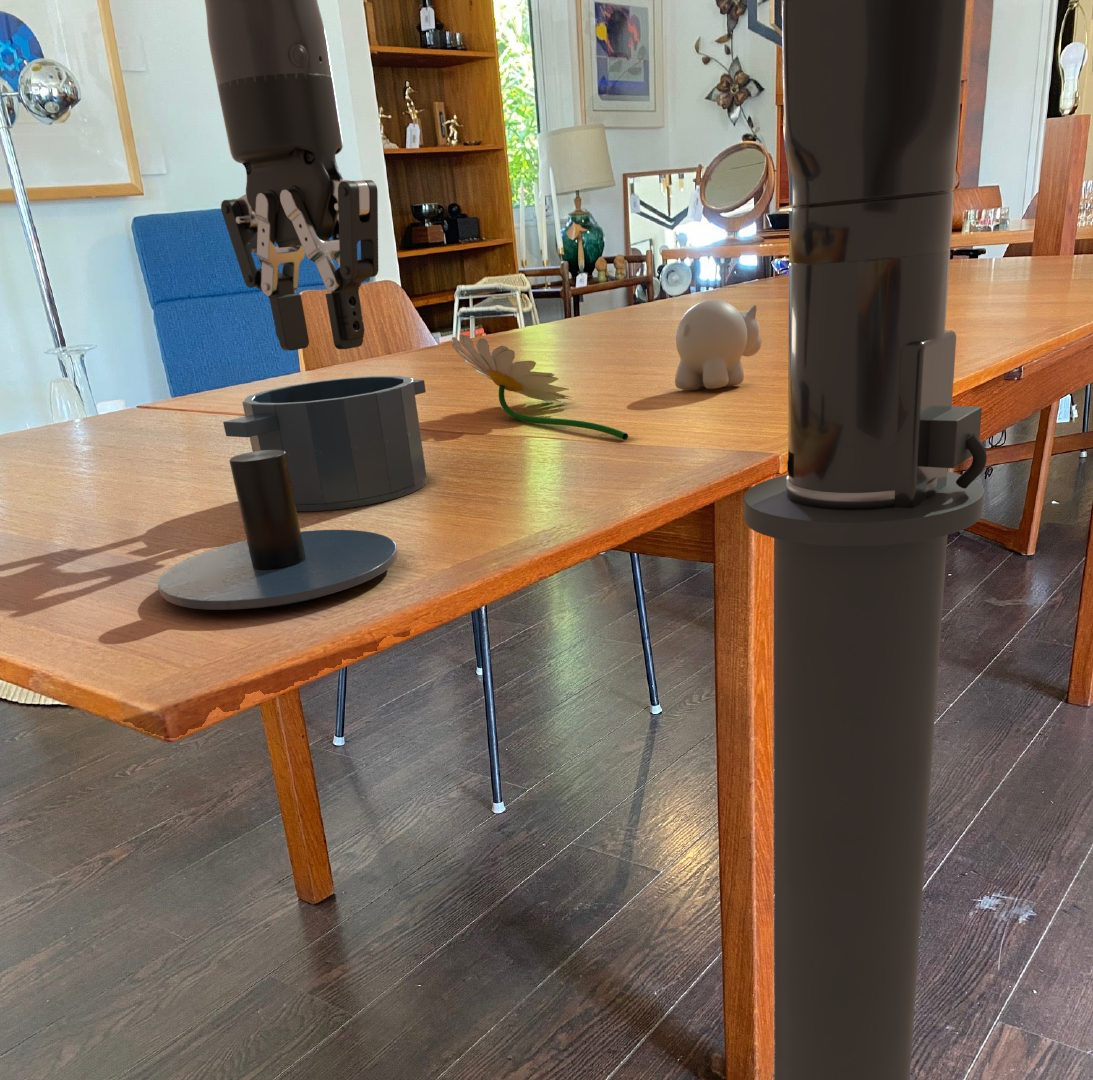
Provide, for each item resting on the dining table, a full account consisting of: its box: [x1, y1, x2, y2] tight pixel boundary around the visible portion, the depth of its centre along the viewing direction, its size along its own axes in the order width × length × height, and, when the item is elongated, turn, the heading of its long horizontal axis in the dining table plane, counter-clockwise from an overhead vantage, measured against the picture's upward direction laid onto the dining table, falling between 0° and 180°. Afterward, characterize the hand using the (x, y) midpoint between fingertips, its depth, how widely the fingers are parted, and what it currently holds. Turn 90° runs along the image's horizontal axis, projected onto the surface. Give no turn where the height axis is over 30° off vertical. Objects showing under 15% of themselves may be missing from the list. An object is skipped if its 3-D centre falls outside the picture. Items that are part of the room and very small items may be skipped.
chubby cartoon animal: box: [674, 299, 763, 391], centre depth 110 cm, size 7×12×8 cm, turn 134°
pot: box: [222, 375, 428, 512], centre depth 80 cm, size 12×18×8 cm
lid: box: [157, 450, 399, 611], centre depth 60 cm, size 13×13×7 cm
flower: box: [451, 334, 629, 441], centre depth 101 cm, size 13×6×30 cm
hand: (321, 347), depth 77 cm, fingers open, 5 cm apart
